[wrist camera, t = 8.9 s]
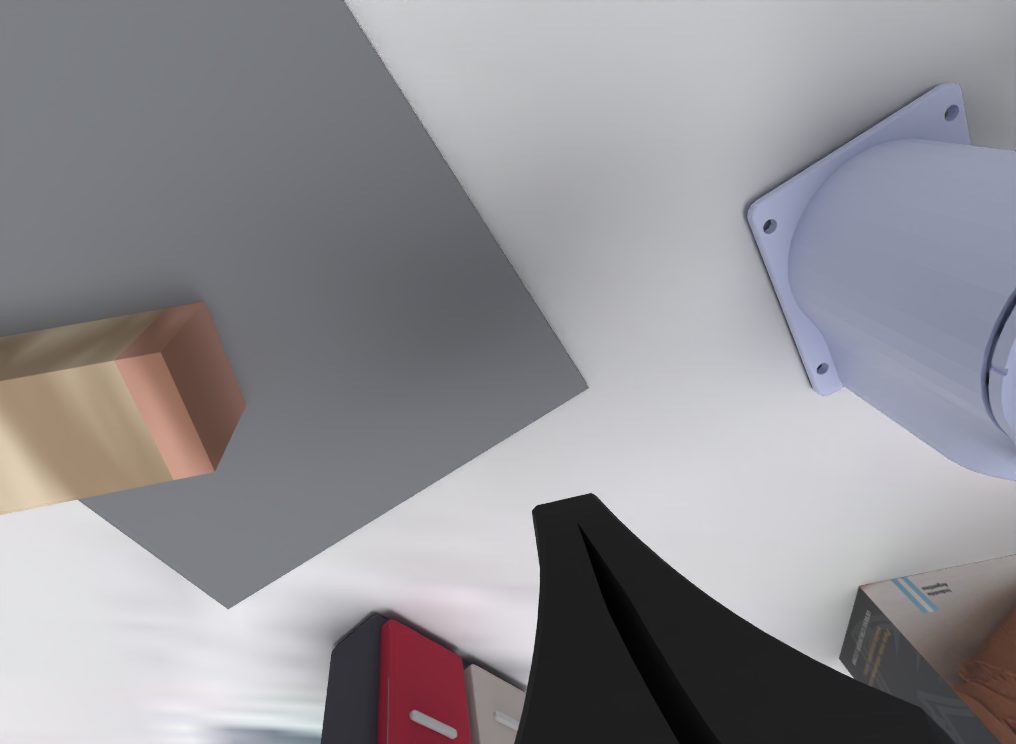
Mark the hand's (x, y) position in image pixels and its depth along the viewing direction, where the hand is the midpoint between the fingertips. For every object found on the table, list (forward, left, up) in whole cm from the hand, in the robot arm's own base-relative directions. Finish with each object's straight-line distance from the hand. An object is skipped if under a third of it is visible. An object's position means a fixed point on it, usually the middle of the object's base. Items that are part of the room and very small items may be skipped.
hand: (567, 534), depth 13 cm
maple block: (+5, +8, -8) cm, 12 cm away
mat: (+6, +7, -10) cm, 14 cm away
